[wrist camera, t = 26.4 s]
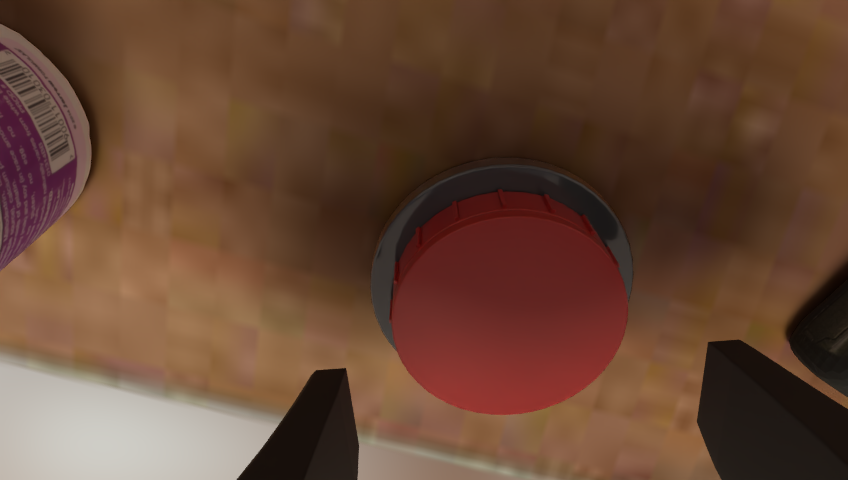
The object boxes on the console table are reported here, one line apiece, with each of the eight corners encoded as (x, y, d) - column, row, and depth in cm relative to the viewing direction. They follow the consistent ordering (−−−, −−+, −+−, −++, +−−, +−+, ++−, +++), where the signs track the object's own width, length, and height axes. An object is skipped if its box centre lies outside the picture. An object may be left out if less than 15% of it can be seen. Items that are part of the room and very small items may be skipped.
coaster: (335, 334, 18) (332, 347, 17) (433, 113, 15) (434, 120, 15) (550, 408, 19) (554, 422, 19) (677, 216, 16) (686, 226, 16)
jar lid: (584, 388, 18) (597, 425, 17) (382, 369, 18) (379, 406, 16) (638, 202, 16) (659, 229, 14) (404, 176, 15) (403, 201, 14)
